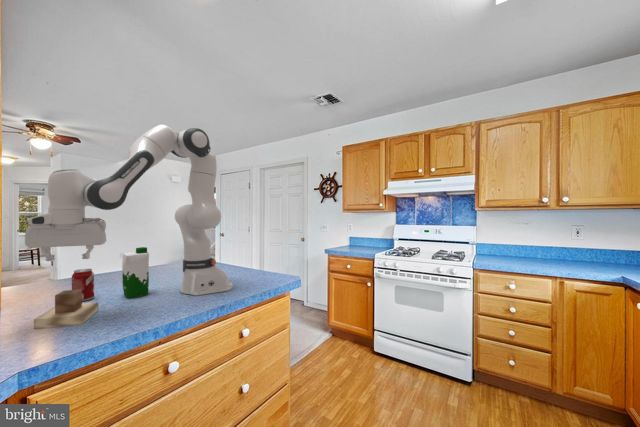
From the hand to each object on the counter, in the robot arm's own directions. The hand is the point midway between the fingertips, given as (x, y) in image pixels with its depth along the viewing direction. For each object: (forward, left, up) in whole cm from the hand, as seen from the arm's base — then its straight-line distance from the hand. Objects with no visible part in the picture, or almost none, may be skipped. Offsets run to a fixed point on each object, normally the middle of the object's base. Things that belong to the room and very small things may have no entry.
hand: (68, 259), depth 90 cm
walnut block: (0, 0, -17) cm, 17 cm away
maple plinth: (0, 0, -20) cm, 20 cm away
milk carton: (-14, -21, -20) cm, 32 cm away
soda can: (+4, -21, -20) cm, 29 cm away
